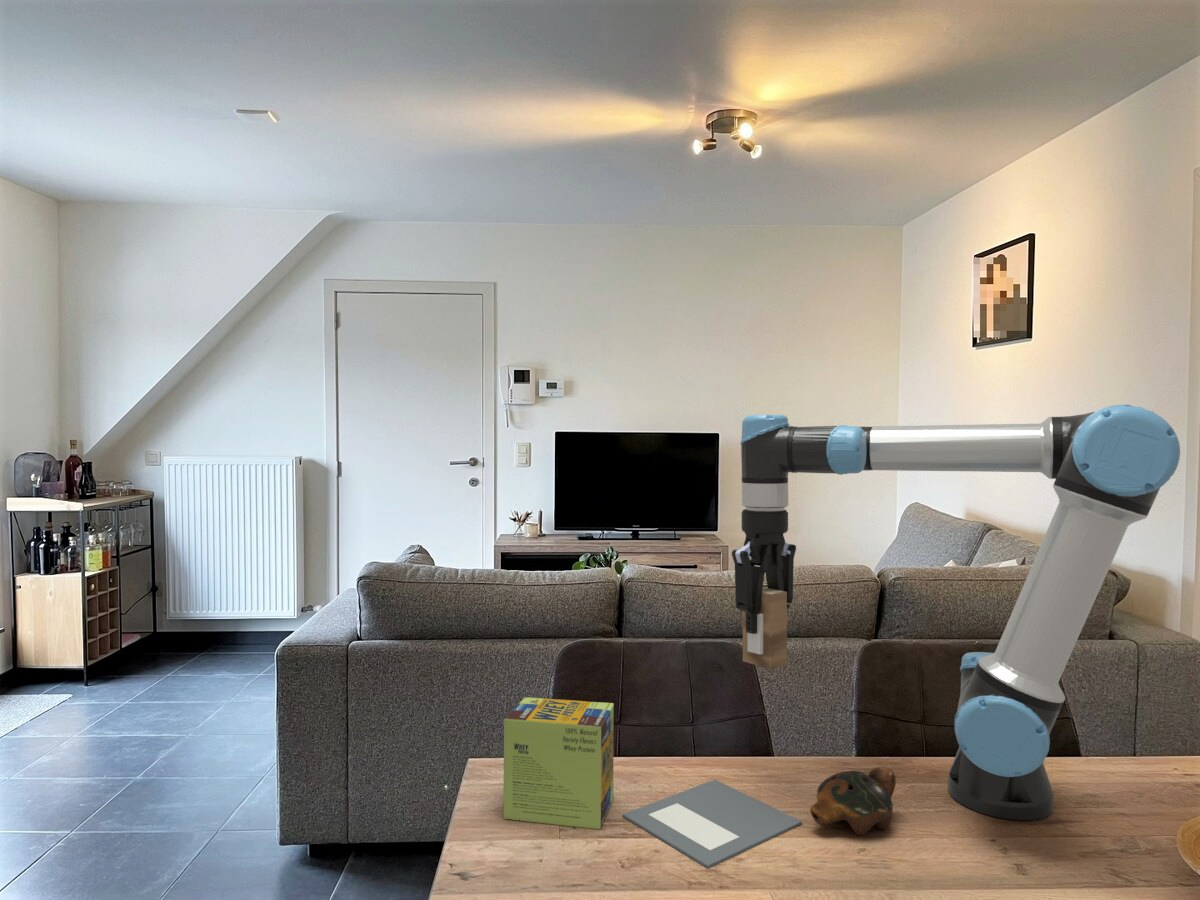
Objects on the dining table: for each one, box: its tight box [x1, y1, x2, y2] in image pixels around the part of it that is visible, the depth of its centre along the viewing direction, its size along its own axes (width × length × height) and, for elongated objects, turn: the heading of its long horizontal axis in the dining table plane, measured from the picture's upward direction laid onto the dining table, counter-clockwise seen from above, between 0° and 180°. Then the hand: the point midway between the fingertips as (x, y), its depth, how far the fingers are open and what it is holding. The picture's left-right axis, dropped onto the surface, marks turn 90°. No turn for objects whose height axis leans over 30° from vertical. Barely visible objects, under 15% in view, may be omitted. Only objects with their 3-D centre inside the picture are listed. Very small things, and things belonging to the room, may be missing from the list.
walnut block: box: [742, 586, 788, 670], centre depth 130 cm, size 6×4×12 cm, turn 38°
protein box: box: [502, 697, 615, 830], centre depth 123 cm, size 10×15×16 cm
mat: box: [622, 779, 803, 869], centre depth 119 cm, size 18×20×1 cm
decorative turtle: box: [809, 766, 897, 837], centre depth 118 cm, size 10×15×8 cm, turn 119°
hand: (764, 649), depth 130 cm, fingers closed on walnut block, 4 cm apart
